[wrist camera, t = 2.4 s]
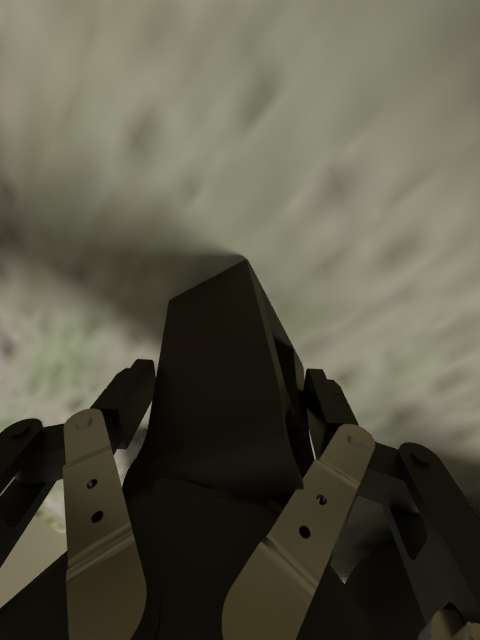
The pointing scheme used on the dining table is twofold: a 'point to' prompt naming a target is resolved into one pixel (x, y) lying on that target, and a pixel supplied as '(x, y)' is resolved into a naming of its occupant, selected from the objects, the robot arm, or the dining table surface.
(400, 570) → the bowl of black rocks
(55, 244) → the dining table surface
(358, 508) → the dining table surface
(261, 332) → the phone stand
